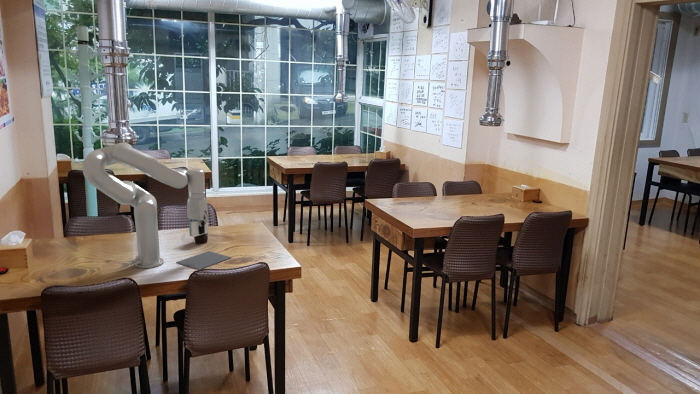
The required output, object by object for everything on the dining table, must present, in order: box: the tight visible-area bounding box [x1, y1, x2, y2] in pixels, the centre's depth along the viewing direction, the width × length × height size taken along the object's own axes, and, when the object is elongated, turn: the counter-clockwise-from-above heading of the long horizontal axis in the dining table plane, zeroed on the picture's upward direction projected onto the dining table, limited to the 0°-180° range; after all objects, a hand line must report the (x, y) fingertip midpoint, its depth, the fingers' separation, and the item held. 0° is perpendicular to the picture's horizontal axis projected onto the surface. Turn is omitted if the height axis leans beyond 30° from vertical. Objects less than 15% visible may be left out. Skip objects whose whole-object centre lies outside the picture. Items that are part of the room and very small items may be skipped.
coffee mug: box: [193, 222, 210, 245], centre depth 277 cm, size 12×9×10 cm
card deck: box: [188, 220, 210, 238], centre depth 247 cm, size 9×3×7 cm, turn 147°
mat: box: [175, 250, 232, 271], centre depth 249 cm, size 20×16×1 cm
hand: (199, 232), depth 248 cm, fingers closed on card deck, 3 cm apart
